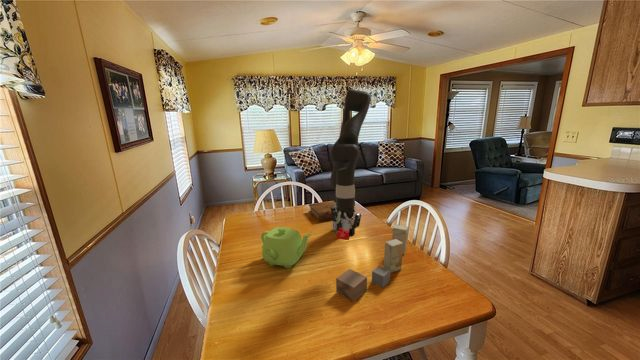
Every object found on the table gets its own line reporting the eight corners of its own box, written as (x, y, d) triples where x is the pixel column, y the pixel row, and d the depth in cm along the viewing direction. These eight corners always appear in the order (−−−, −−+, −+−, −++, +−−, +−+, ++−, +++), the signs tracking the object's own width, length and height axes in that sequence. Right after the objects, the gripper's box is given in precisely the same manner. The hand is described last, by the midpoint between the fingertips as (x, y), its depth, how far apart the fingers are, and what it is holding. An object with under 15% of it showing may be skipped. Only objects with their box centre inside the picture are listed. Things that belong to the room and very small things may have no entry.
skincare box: (390, 273, 110) (391, 246, 106) (383, 268, 113) (384, 241, 110) (402, 269, 112) (403, 242, 109) (394, 263, 116) (396, 238, 113)
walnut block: (336, 292, 100) (336, 278, 98) (349, 282, 105) (349, 268, 104) (353, 302, 94) (353, 287, 93) (366, 291, 100) (367, 277, 98)
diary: (319, 223, 161) (318, 214, 160) (309, 212, 178) (308, 204, 177) (353, 216, 169) (353, 207, 167) (340, 206, 186) (340, 199, 184)
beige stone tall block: (391, 251, 126) (392, 227, 123) (393, 247, 130) (394, 224, 127) (404, 254, 123) (406, 230, 120) (406, 250, 127) (408, 226, 124)
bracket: (348, 240, 107) (348, 233, 106) (336, 238, 108) (336, 231, 108) (352, 233, 113) (352, 226, 112) (340, 231, 114) (340, 225, 113)
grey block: (371, 282, 105) (372, 271, 103) (378, 276, 108) (379, 265, 107) (383, 288, 101) (383, 276, 100) (389, 281, 105) (390, 270, 103)
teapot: (245, 273, 113) (242, 238, 109) (271, 248, 132) (269, 218, 128) (300, 284, 104) (298, 248, 100) (319, 256, 124) (318, 224, 120)
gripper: (325, 193, 108) (326, 232, 113) (354, 200, 99) (354, 242, 103) (337, 189, 114) (337, 226, 118) (366, 195, 104) (365, 235, 108)
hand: (345, 233), depth 110 cm, fingers closed on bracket, 5 cm apart
